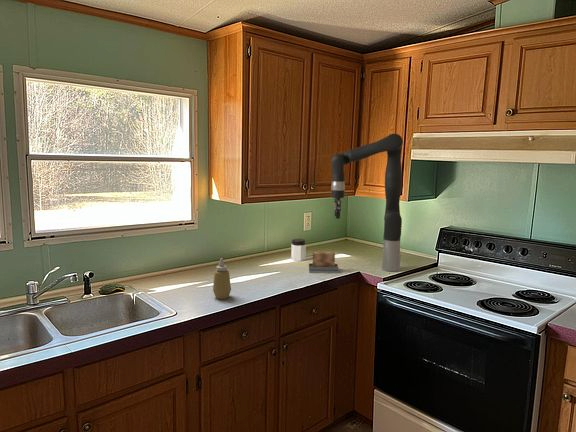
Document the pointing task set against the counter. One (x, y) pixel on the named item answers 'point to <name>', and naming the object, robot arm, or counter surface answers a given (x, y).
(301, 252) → the jar
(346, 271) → the counter surface
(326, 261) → the door panel
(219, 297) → the squeeze bottle
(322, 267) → the floor track
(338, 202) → the robot arm
